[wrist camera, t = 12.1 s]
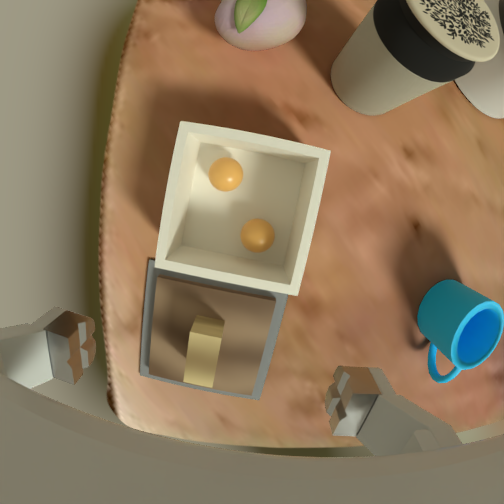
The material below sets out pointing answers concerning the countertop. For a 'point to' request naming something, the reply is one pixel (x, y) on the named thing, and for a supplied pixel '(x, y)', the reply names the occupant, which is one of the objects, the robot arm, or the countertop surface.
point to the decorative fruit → (259, 22)
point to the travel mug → (411, 51)
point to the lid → (208, 334)
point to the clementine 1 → (225, 174)
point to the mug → (459, 326)
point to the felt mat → (155, 272)
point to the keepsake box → (240, 207)
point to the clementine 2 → (257, 235)
